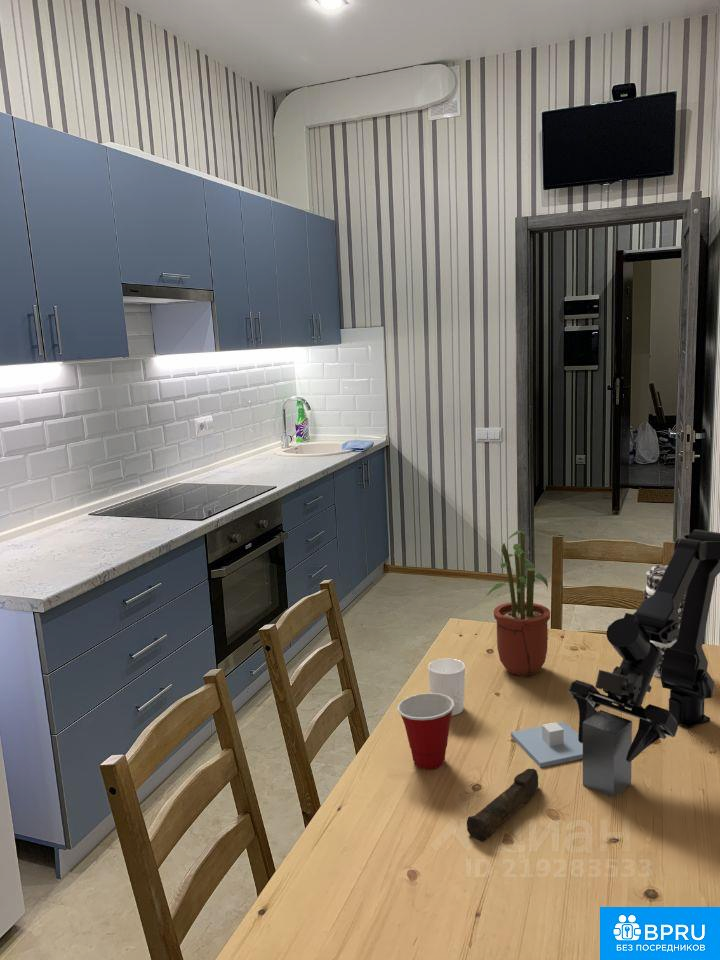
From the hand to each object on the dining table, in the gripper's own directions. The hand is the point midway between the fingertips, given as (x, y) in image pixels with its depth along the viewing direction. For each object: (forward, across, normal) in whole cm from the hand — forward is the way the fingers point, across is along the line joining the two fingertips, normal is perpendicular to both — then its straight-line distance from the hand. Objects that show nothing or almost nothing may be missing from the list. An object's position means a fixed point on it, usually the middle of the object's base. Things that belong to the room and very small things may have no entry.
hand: (603, 751), depth 132 cm
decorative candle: (-31, -14, +41) cm, 54 cm away
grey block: (+4, 0, +6) cm, 7 cm away
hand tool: (+17, -8, -7) cm, 20 cm away
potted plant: (-16, -41, +26) cm, 51 cm away
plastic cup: (+16, -28, -5) cm, 33 cm away
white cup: (+3, -39, +8) cm, 40 cm away
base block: (+1, -14, +10) cm, 17 cm away
